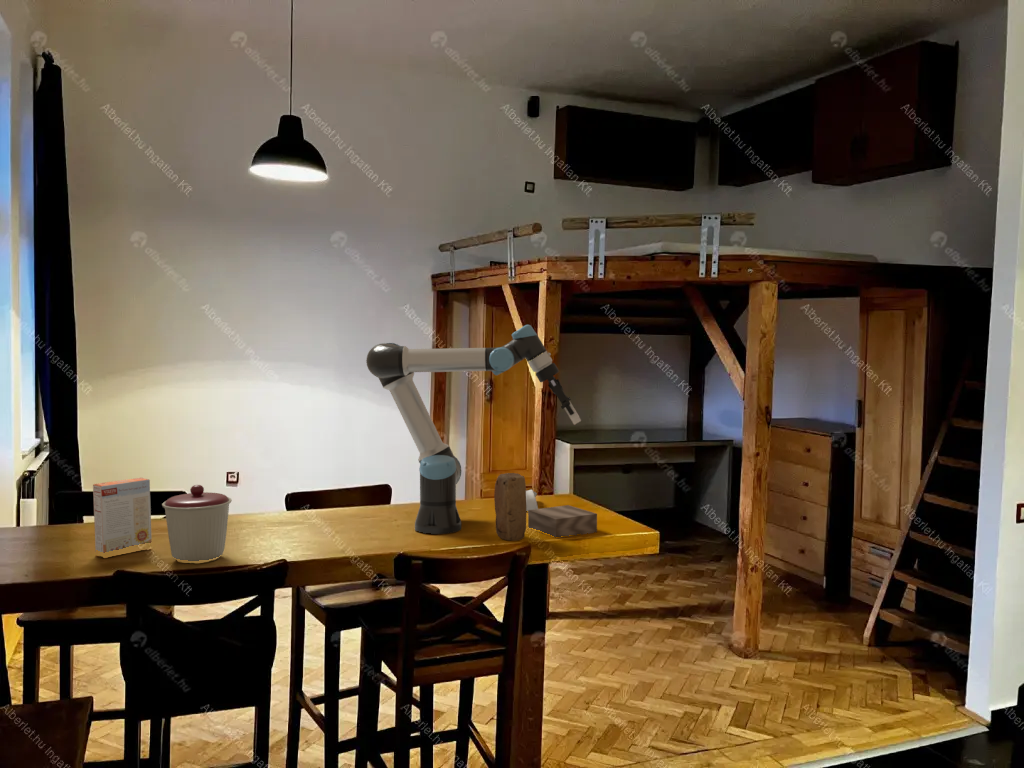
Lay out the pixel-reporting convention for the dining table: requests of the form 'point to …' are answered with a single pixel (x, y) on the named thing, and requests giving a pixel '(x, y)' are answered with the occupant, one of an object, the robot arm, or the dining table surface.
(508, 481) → the block
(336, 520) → the dining table surface
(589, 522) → the base block
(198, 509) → the canister
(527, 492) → the spoon rest
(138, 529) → the cracker box
